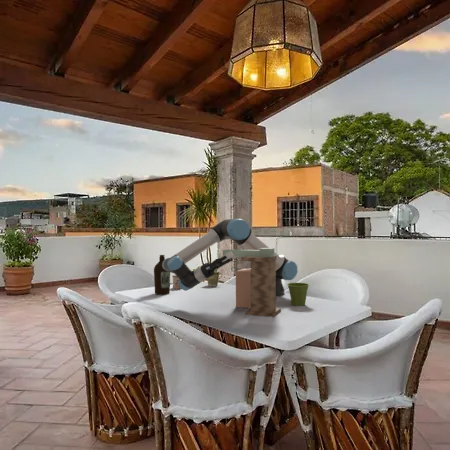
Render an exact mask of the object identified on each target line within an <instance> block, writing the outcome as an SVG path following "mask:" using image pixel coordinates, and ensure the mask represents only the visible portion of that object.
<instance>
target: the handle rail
mask: <svg viewBox="0 0 450 450" xmlns="http://www.w3.org/2000/svg"><path fill="white" fill-rule="evenodd" d="M230 251H231V252H232V254H233V255H234V256H239V257H244V256H253V257H273V256H275V253H276V252H275V247H269V248H260V249H259V250H248V249H241V250H240V249H222V256H223V255H225V254H227V253H228V252H230ZM274 252H275V253H274Z"/></svg>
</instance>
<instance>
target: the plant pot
mask: <svg viewBox="0 0 450 450" xmlns="http://www.w3.org/2000/svg"><path fill="white" fill-rule="evenodd" d="M286 286H287V287H288V291H289V295H290V301H291V302H290V303H291V305H292V306H296V307H302V306H305V305H306V299H307V295H308V289H309V286H310V284H309V283H306V282H289V283H287V284H286Z"/></svg>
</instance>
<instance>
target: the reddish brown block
mask: <svg viewBox="0 0 450 450" xmlns="http://www.w3.org/2000/svg"><path fill="white" fill-rule="evenodd" d="M235 307H237V308H247V309H248V308H249V309H251V268H242V269H238V270H236V271H235Z"/></svg>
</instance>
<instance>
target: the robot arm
mask: <svg viewBox="0 0 450 450" xmlns="http://www.w3.org/2000/svg"><path fill="white" fill-rule="evenodd" d="M225 240H231V241H233V242H235V244H237V245H238V246H243V247H244V248H246V250H259V249H260V248H270V247H269V246H268V245H266V243H264V242H263V241H262V240H260V238H258V237H257V236H256V235H254V234H253V230H252V229H251V228H250V224H248V222H247V221H246V220H244V219H242V218H231V219H230V218H229V219H228V218H227V219H224V220H222V221H220V222H218V223H217V224H216V225H214V226H212V227H211V228H210V229H209V230H208V232H207V233H205V234H204V235H202V236H201V237H200V238H198V239H196V240H195V241H193V242H192V243H190V244H189V245H187V246H186V247H184V248H183V249H181V250H180V251H178V252H177V253H175V254H174V255H172V256H171V257H168V258H167V257H166V258H165V260H164V261H163V263H162V266H163V269H164V270H166V271H167V272H170V274H173V275H174V274H175V275H176V276H177V277H178V278H179V285H180V287H181V289H180V290H183V291H189V290H191V289H193V288H194V287H196V286H198V285H199V284H201V283H204V282H205V281H207V278H209V277H211V276H213V275H214V271H218V270H219V269H220V268H221V267H223V266H225V265H227V264H229V263H230V262H232V261H234V260H236V258H238V257H240V256H234V255H233V254H232V252H231V251H230V252H228V253H227V254H225V255H223V254H222V255H221V256H220V257H218V258H215V259H214V260H213V261H212V262H210V263H209V262H206V263H204V264H202V265H200V266H198V267H197V268H195V269H194V270H191V269H190V268H189V266H188V265H187V263H189V261H191V260H193V259H194V258H196V257H197V256H199V255H200V254H202V253H203V252H204V251H206V250H208V249H209V248H210V247H212V246H213V245H215V244H220V242H221V243H222V241H225ZM239 250H242V249H239ZM274 253H275V256H277V260H276V296H282V295H285V289H284V285H283V284H284V283H283V282H282V280H284V281H291V280H294V278H296V277H297V274H298V270H299V269H298V264H297V263H296V262H295V261H293V260H290V259H288V258H286V257H285V256H284V255H283V254H280V255H279V254H277V252H275V251H274Z"/></svg>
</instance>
